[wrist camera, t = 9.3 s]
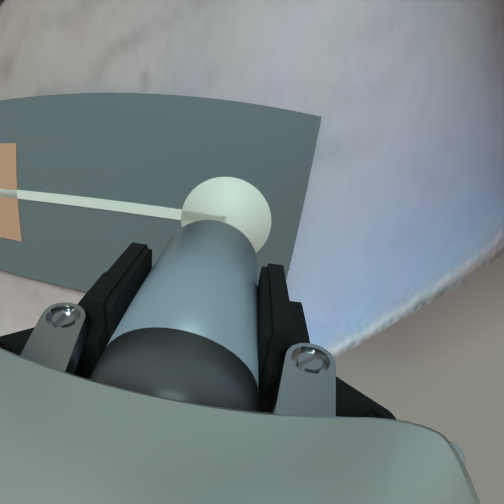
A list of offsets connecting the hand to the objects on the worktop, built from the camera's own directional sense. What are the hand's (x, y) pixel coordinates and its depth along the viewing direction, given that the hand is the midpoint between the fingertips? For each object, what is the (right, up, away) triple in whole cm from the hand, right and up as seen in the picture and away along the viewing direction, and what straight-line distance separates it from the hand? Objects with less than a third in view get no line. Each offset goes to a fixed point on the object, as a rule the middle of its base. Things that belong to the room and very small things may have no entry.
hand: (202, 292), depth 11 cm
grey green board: (-9, +5, +7) cm, 12 cm away
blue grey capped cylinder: (0, +1, +2) cm, 2 cm away
